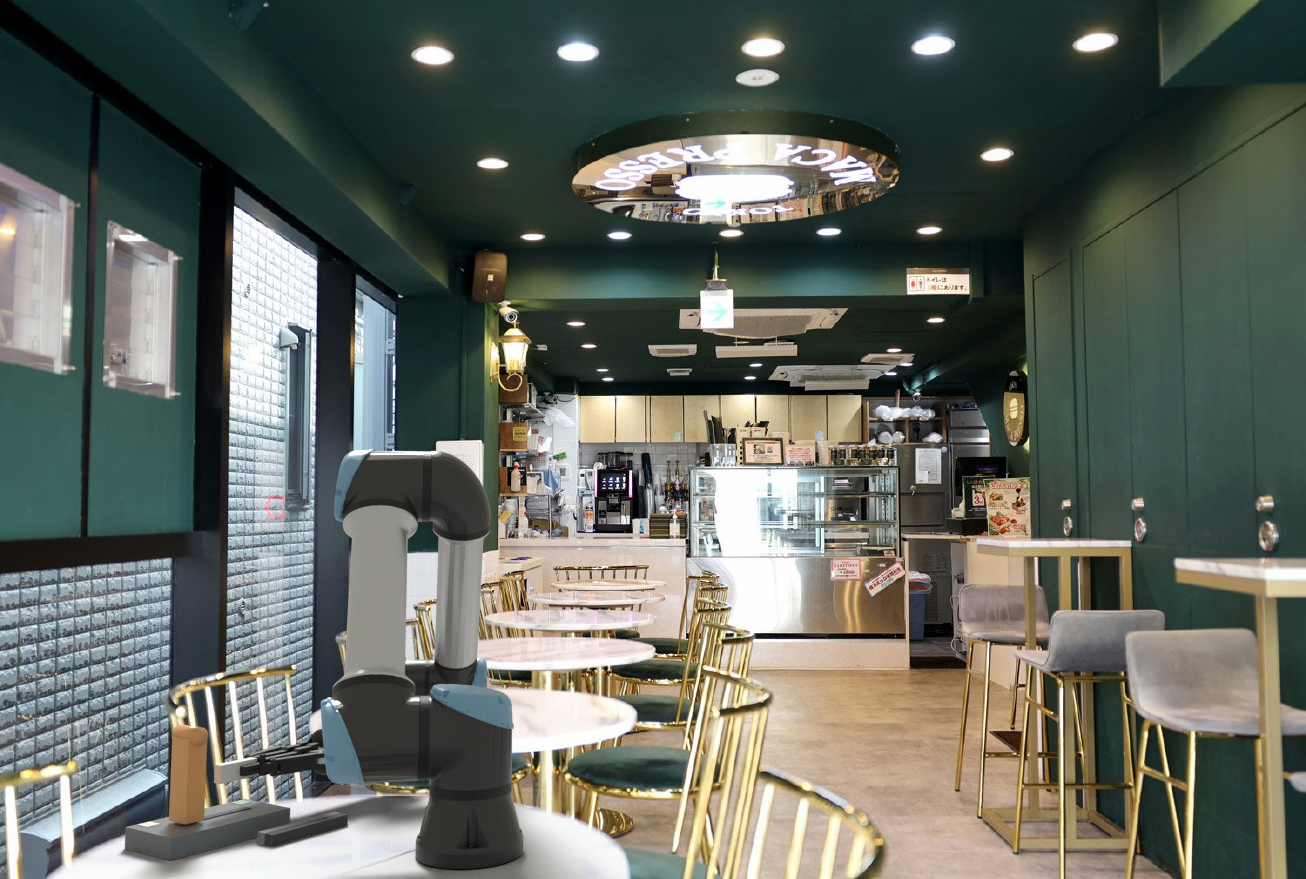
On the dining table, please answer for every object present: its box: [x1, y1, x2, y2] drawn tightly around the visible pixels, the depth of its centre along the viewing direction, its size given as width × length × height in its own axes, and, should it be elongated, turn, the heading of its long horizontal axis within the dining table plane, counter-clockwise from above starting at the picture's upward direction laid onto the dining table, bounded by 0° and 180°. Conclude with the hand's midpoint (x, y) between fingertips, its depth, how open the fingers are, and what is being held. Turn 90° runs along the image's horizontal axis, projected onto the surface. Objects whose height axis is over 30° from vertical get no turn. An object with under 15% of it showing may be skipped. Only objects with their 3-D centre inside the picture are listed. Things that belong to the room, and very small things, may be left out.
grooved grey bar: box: [256, 811, 349, 848], centre depth 160 cm, size 3×14×2 cm, turn 148°
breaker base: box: [124, 798, 291, 861], centre depth 158 cm, size 11×20×3 cm, turn 148°
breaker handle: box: [168, 724, 209, 825], centre depth 155 cm, size 5×3×14 cm, turn 58°
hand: (217, 774), depth 159 cm, fingers closed
